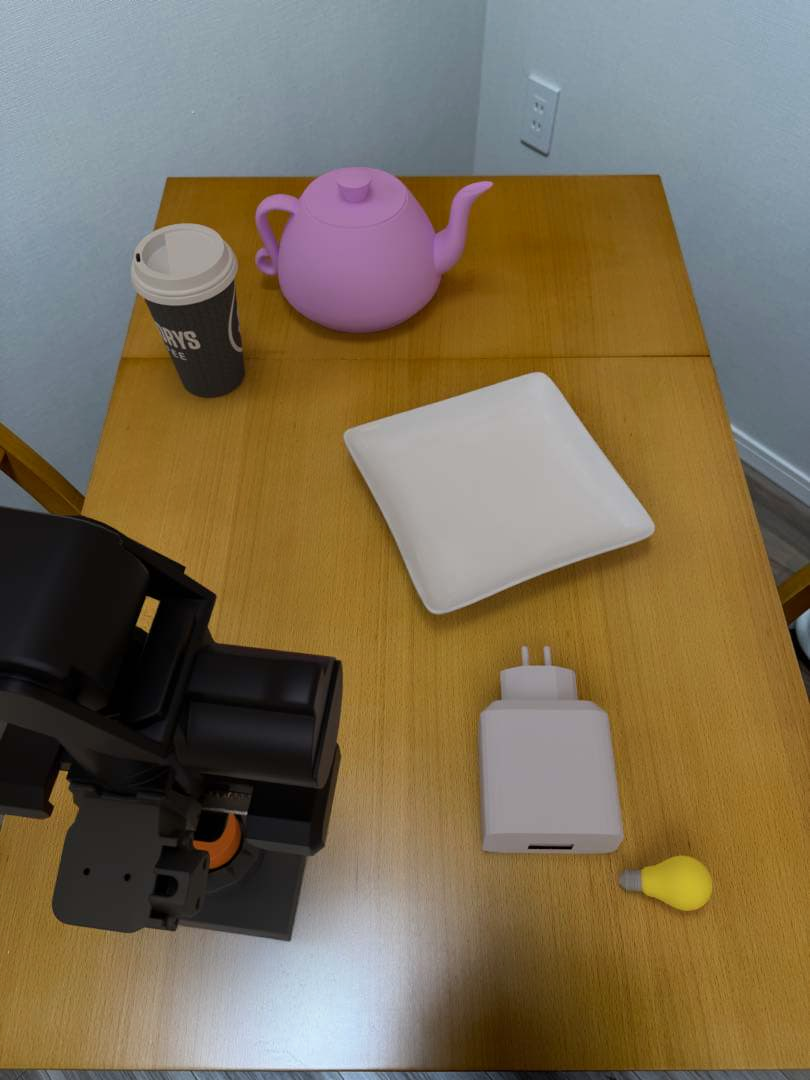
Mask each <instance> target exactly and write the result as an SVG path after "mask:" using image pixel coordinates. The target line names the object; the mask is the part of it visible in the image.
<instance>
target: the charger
mask: <svg viewBox="0 0 810 1080" xmlns="http://www.w3.org/2000/svg"><path fill="white" fill-rule="evenodd" d="M520 648H521V661H522V663H521V664H522V665H520V666H514V667H510V668H505V669H503V670H501V671H500V672H499V675H500V678H499V679H500V692H501V693H500V695H501V699H498V700H494V701H492V702H491V703H490V704H489V705H488V706H486V708H485V709H484V710H483V711H481V712H480V714H479V718H478V727H477V747H478V748H477V749H478V771H479V772H478V773H479V774H478V775H479V798H480V799H479V803H480V804H479V805H480V828H481V829H480V830H481V850H482V851H484V852H490V853H507V854H509V853H511V854H586V855H587V854H588V855H590V854H609V853H613V852H616V851H617V849H618V848H619V846H620V845H621V844H622V842H623V841H624V839H625V834H624V826H623V825H624V824H623V817H622V810H621V802H620V795H619V787H618V779H617V772H616V763H615V757H614V749H613V740H612V734H611V725H610V717H609V714H608V712H607V711H605V709H603V708H602V707H600V706H599V705H597V704H596V703H595V702H593V701H591V700H579V697H578V688H577V687H578V686H577V679H576V678H577V677H576V671H574V670H573V669H570V668H565V667H562V666H558V665H552V664H553V662H552V652H551V647H550V646H548V645H545V646H544V647H543V658H544V665H530V655H529V653H530V652H529V647H528V646H526V645H523V646H522V647H520ZM530 846H531V847H572V848H571V849H560V848H559V849H557V848H556V849H555V848H554V849H552V848H549V849H548V848H546V849H545V848H543V849H542V848H541V849H540V848H536V849H535V848H529V847H530Z"/></svg>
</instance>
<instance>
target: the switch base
mask: <svg viewBox="0 0 810 1080" xmlns="http://www.w3.org/2000/svg"><path fill="white" fill-rule="evenodd" d="M237 795H238V794H237V793H235V794H234V797H235V798H236V797H237ZM241 796H242V799H243V798H244V796H245V794H241ZM251 796H252V795H248V797H249V800H250V799H251ZM234 815H235V817H236V819H237V820H238V822H239V825H240V828H241V841H240V845H239V847H238V850H237V851H236V853H235V854H234V856H233V857H232V858H231V859H230V860H229V861H228V862H226V863H225V864H223V865H221V866H219V867H217V868H213V869H209V871H208V877H207V883H206V889H205V895H204V901H203V904H202V907H201V910H200V911H199V912H198V913H197V914H195V915H194V916H192V917H186V916H181V917H180V921H179V925H178V926H181V927H188V928H195V929H201V930H207V931H214V932H222V933H227V934H228V933H229V934H235V935H243V936H248V937H257V938H262V939H263V938H264V939H270V940H277V941H284V942H291V940H292V935H293V930H294V924H295V921H296V920H295V919H296V915H297V910H298V903H299V899H300V894H301V889H302V883H303V877H304V874H305V873H304V872H305V868H306V863H307V858H308V856H307V855H300V854H292V853H285V852H278V851H270V850H265V849H262V848H259V847H256V846H253V845H251V844H249V843H248V841H247V840H246V821H247V815H239V814H234Z"/></svg>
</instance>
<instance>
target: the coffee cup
mask: <svg viewBox="0 0 810 1080" xmlns="http://www.w3.org/2000/svg"><path fill="white" fill-rule="evenodd" d="M238 262H239V261H238V257H237V256H236V254H235V252H234V250H233V249H232V247H231V246H230V245H229V244H228V242H227V241H225V240H224V239H223V238H222V236H221V235H220V234H219V233H218V232H217V231H215V229H213V228H211V227H208V226H206V225H203V224H198V223H189V222H188V223H186V222H185V223H176V224H175V223H174V224H169V225H167V226H162V227H160V228H158V229H155V230H154V231H152V232H150V233H148V234H147V235H145V236H144V237H143V238H142V239H141V240H139V242H138V244H137V245H136V247H135V249H134V252H133V259H132V261H131V266H130V283H131V285H132V287H133V289H134V291H135V292H136V293H137V294H138V295H139V296H141V297H142V298H143V299H144V301H145V304H146V306H147V309H148V310H149V313H150V315H151V317H152V319H153V321H154V323H155V326H156V329H157V330H158V333H159V335H160V336H161V339H162V341H163V344H164V346H165V348H166V351H167V353H168V355H169V357H170V359H171V362H172V364H173V366H174V369H175V370H176V373H177V375H178V377H179V380H180V382H181V385H182V387H184V389H185V390H186V391H187V392H188V393H190V394H191V395H194V396H196V397H200V398H209V399H211V398H219V397H222V396H225V395H227V394H230V393H232V392H234V391H235V390H236V389H238V387H240V385H241V384H242V383H243V381H244V379H245V375H246V368H245V359H244V350H243V341H242V333H241V325H240V316H239V307H238V300H237V289H236V281H235V278H236V275H237V273H238V270H239V263H238Z"/></svg>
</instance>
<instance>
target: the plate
mask: <svg viewBox="0 0 810 1080" xmlns="http://www.w3.org/2000/svg"><path fill="white" fill-rule="evenodd" d="M342 439H343V442H344V444H345V446H346V448H347V450H348V453H349V454H350V457H351V458H352V460H353V462H354V463H355V465H356V467H357V469H358V470H359V472H360V474H361V476H362V478H363V479H364V482H365V483H366V485H367V486H368V488H369V490H370V492H371V494H372V496H373V498H374V500H375V502H376V503H377V506H378V507H379V510H380V512H381V513H382V516H383V518H384V520H385V522H386V524H387V526H388V528H389V530H390V532H391V535H392V537H393V540H394V541H395V544H396V546H397V547H398V550H399V553H400V555H401V558H402V560H403V563H404V564H405V565H404V566H405V568H406V570H407V572H408V575H409V577H410V579H411V582H412V584H413V586H414V589H415V591H416V593H417V595H418V596H419V599H420V600H421V602H422V604H423V606H424V607H425V609H426V610H427V611H428V612H429V613H430V614H433V615H437V616H439V615H445V614H448V613H452V612H454V611H458V610H460V609H463V608H466V607H467V606H471V605H473V604H476V603H477V602H480V601H482V600H484V599H486V598H489V597H491V596H493V595H496V594H498V593H500V592H503V591H505V590H507V589H510V588H512V587H514V586H517V585H519V584H522V583H523V582H527V581H529V580H531V579H535V578H536V577H539V576H542V575H544V574H547V573H549V572H552V571H554V570H558V569H560V568H564V567H566V566H569V565H572V564H575V563H578V562H580V561H584V560H587V559H589V558H593V557H595V556H599V555H602V554H606V553H608V552H609V553H610V552H612V551H615V550H618V549H622V548H625V547H628V546H631V545H633V544H636V543H638V542H641V541H644V540H646V539H649V538H650V537H652V536H653V535H654V533H655V532H656V525H655V522H654V520H653V519H652V518H651V516H650V514H649V513H648V511H647V509H646V507H644V505H643V504H642V503H641V501H640V500H639V498H638V497H637V496H636V495H635V493H634V492H633V490H632V489H631V488H630V486H629V485H628V484H627V482H626V481H625V480H624V479H623V477H622V476H621V474H620V473H619V472H618V470H617V469H616V468H615V466H614V465H613V463H612V462H611V461H610V460H609V458H608V457H607V455H606V454H605V453H604V451H603V450H602V449H601V447H600V446H599V444H598V443H597V442H596V441H595V439H594V437H593V436H592V434H591V433H590V432H589V430H588V429H587V428H586V427H585V425H584V423H583V421H581V419H580V417H579V416H578V415H577V413H576V412H575V411H574V409H573V407H572V406H571V404H570V403H569V402H568V400H567V399H566V397H565V396H564V394H563V393H562V391H561V390H560V389H559V387H558V386H557V385H556V383H555V382H554V381H553V380H552V378H551V377H549V376H548V375H547V374H546V373H544V372H542V371H534V372H530V373H526V374H523V375H519V376H516V377H513V378H509V379H506V380H503V381H500V382H497V383H493V384H491V385H488V386H484V387H482V388H477V389H475V390H472V391H469V392H465V393H462V394H459V395H455V396H452V397H449V398H445V399H442V400H439V401H436V402H433V403H429V404H426V405H423V406H419V407H416V408H413V409H409V410H406V411H403V412H400V413H396V414H392V415H389V416H386V417H383V418H379V419H377V420H372V421H370V422H366V423H363V424H359V425H357V426H354V427H351V428H347V430H345V431H344V432H343V435H342Z"/></svg>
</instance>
